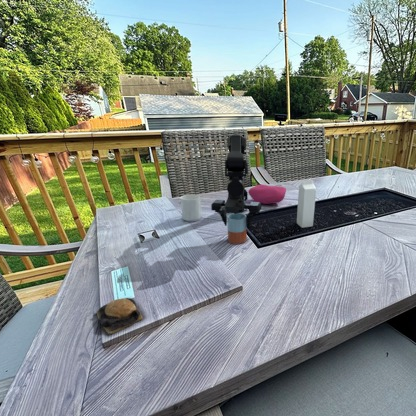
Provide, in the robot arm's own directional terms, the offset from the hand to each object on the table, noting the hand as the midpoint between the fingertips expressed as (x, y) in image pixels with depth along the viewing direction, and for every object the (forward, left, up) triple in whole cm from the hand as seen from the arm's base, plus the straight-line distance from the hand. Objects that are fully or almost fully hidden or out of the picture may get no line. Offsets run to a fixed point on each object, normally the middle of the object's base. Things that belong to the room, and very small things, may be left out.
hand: (237, 226), depth 106 cm
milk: (-31, +16, -6) cm, 35 cm away
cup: (0, 0, -6) cm, 6 cm away
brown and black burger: (+49, +2, -6) cm, 50 cm away
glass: (0, 0, -1) cm, 1 cm away
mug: (-7, -34, -6) cm, 35 cm away
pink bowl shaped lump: (-50, -17, -6) cm, 53 cm away
